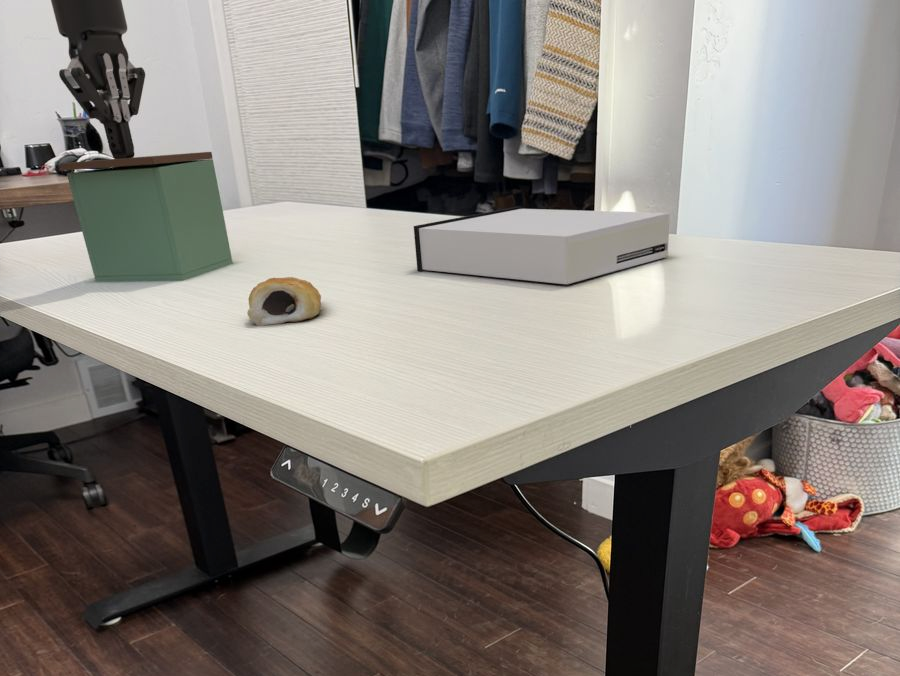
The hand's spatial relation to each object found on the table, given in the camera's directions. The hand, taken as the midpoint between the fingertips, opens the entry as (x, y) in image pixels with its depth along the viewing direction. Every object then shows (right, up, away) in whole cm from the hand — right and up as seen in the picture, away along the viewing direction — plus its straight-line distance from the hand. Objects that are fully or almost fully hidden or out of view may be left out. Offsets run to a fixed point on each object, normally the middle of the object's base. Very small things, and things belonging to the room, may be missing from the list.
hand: (124, 158), depth 105 cm
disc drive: (+50, -16, -7) cm, 53 cm away
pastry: (+24, -27, -21) cm, 41 cm away
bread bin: (+2, -11, +9) cm, 14 cm away
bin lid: (+1, +1, +3) cm, 3 cm away
